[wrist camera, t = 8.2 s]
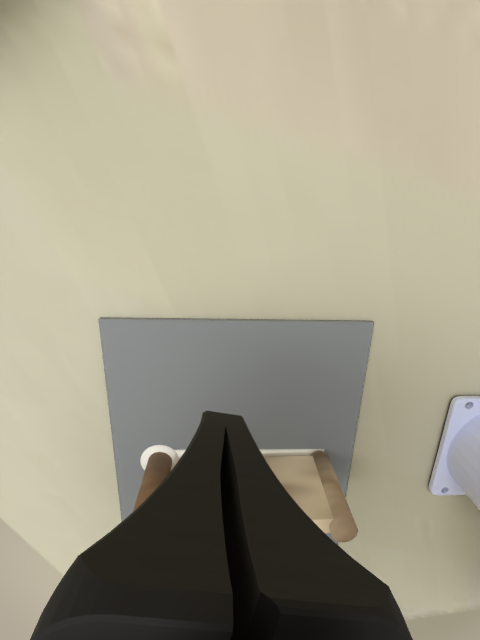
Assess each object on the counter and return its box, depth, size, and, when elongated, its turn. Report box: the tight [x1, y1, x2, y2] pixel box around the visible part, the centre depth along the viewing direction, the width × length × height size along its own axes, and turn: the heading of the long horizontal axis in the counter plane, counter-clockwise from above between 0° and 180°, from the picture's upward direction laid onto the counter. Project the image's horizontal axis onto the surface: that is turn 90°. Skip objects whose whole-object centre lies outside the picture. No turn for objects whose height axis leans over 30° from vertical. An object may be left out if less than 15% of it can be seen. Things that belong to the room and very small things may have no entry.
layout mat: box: [99, 317, 374, 545], centre depth 23 cm, size 16×19×1 cm
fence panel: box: [176, 451, 358, 542], centre depth 21 cm, size 10×1×5 cm, turn 90°
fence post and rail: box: [133, 452, 172, 511], centre depth 22 cm, size 2×10×6 cm, turn 178°
